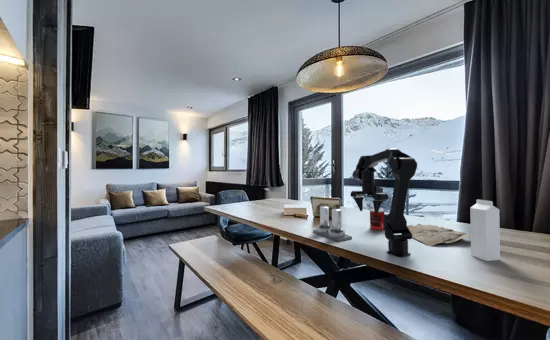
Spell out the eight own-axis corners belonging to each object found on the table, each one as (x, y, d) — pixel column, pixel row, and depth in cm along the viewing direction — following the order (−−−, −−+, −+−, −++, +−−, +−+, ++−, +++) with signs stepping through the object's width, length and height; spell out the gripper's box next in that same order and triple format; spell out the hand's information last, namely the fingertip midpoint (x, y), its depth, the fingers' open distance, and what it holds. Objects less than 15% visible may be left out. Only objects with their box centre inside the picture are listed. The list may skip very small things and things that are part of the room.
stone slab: (486, 248, 101) (486, 237, 100) (419, 248, 104) (419, 237, 104) (442, 228, 134) (442, 219, 133) (392, 228, 137) (392, 220, 137)
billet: (343, 234, 120) (343, 209, 120) (338, 236, 116) (338, 210, 116) (335, 233, 123) (335, 208, 123) (330, 235, 120) (329, 209, 120)
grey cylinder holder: (352, 239, 117) (351, 210, 117) (338, 242, 113) (337, 212, 112) (326, 229, 135) (325, 205, 134) (313, 232, 130) (312, 206, 130)
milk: (483, 254, 93) (482, 198, 93) (500, 260, 87) (499, 200, 87) (470, 255, 92) (469, 199, 92) (486, 261, 86) (485, 201, 86)
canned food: (381, 227, 137) (381, 208, 137) (387, 231, 129) (386, 211, 129) (368, 227, 138) (368, 208, 138) (372, 231, 130) (372, 211, 130)
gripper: (395, 181, 112) (396, 213, 112) (364, 179, 128) (365, 208, 128) (379, 182, 106) (380, 216, 107) (349, 180, 123) (350, 210, 123)
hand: (368, 212), depth 116 cm, fingers open, 9 cm apart
